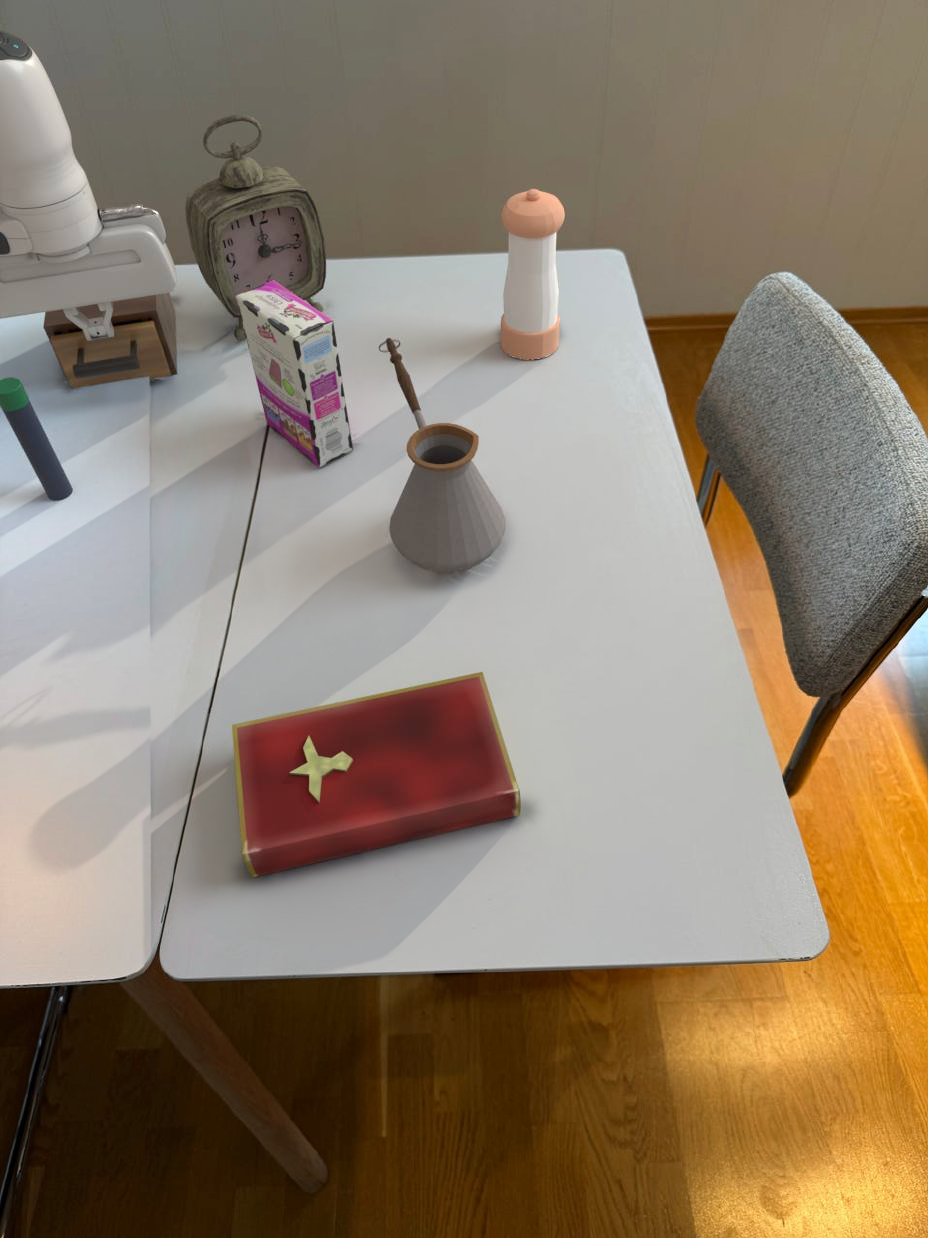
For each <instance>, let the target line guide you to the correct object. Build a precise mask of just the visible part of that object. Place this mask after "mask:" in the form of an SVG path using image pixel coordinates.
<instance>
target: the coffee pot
mask: <svg viewBox="0 0 928 1238" xmlns="http://www.w3.org/2000/svg"><path fill="white" fill-rule="evenodd" d="M395 342H398V344H397V345H396V344H395ZM385 344H386V348H387V349H386V350H384V349H381V347H382V346H384V345H385ZM401 345H402V344H401V341H400V340H399V339H395V338H393V339H392V337H387V338H386V339H385V341H383V342H381V343H380V344H379V345H378V347H377V348H378V351H379V352H380V353H389V354H390V357H389V361H390V363H391V364H393V365H394V371H395V374H396V380H397V382H398V385H399V387H400V390H401V391H402V394H403V395H404V398H405V400H406V402H407V404H408V407H409V409H410V411H411V413H412V415H413V416H414V420H415V422H416V425H417V428H418V430H416V431H415V432H414V433H412V434H411V436H410V437H409V439H408V440H407V443H406V453H407V456H408V458H409V459H410V460H411V462H412V463H413V467H412V469H411V471H410V474H409V476H408V478H407V480H406V482H405V485H404V486H403V489H402V492H401V493H400V496H399V498H398V501H397V503H396V505H395V507H394V510H393V512H392V514H391V516H390V521H389V528H388V532H389V535H390V538H391V542H392V544H393V546H394V547H395V548H396V550H397V551H398V553H399V554H400V555H401V556H402V558H404V559H405V560H407V561H408V562H410V563H411V564H412V565H414V566H416V567H418V568H421V569H423V570H427V571H431V572H437V573H451V574H452V573H458V572H463V571H466V570H469V569H471V568H473V567H475V566H477V565H481V564H482V563H483V562H484V561H487V559H489V558H490V557H491V556H492V555H493V553H494V552H495V551H496V550H497V549H498V547H499V546H500V544H501V543H502V540H503V537H504V536H505V532H506V517H505V514H504V511H503V509H502V506H501V505H500V504H499V502H498V500H497V498H496V497H495V495H494V494H493V492H492V491H491V488H490V487H489V486H488V483H486V481H485V479H484V478H483V476H482V474H481V472H480V471H479V468H478V467H477V465H475V462H473V459H474V458H475V455H476V454H477V451H478V448H479V444H480V442H479V441H480V439H479V438H480V436H479V434H477V433H475V432H474V431H473V430H470V429H468V428H467V427H464V426H462V425H459V424H457V423H451V422H438V423H432V424H427V423H426V420H425V418H424V416H423V413H422V409H421V407H420V402H419V399H418V397H417V394H416V391H415V387H414V385H413V381H412V378H411V376H410V373H409V372H408V371H407V369H406V367H405V365H404V363H403V361H402V360H403V355H402V354H400V353H399V352H398V351H397V349H399V348H400V347H401Z"/></svg>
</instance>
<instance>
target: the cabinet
mask: <svg viewBox="0 0 928 1238" xmlns="http://www.w3.org/2000/svg"><path fill="white" fill-rule="evenodd" d="M79 311H80V312H82V313H83V314H84V315H85V316H86V317H87V318H88V319H93V318H99V317H103V314H104V311H100V309H99V307H98V304H93V305H87V306H81V307H79ZM147 318H151V320H152V321H154V323H155V326H156V329H157V332H158V335H159V338H160V341H161V344H162V347H163V350H164V353H165V356H166V359H167V362H168V365H169V368H170V376H172V375H173V376H174V375H178V357H177V356H178V353H177V328H176V325H177V324H176V309H175V307H174V303H173V300H172V297H171V292H170V293H165V294H159V295H152V296H145V297H139V298H133V299H126V300H120V301H114V302H113V313H112V317H111V323H112V324H113V323H120V322H127V321H133V320H140V319H147ZM42 327H43V330H44V332H45V334H46V336H47V339H48V341H49V343H50V346H51V348H52V350H53V353H54V354H55V356H56V359H57V361H58V363H59V366H60V368H61V370H62V372H63V375H64V377H65V380H66V382H69V381H68V379H67V377H66V374H65V372H64V370H63V368H62V365H61V363H60V361H59V359H58V356H57V354H56V352H55V350H54V347H53V345H52V343H51V337H52V336H55V335H62V333H61V331H67V330H74V329H80V327H78V326H77V325H76V324H74V323H73V322H72V321H71V320H69V319H68V318H67V317H66V315H65V313H64V311H63V309H61V310H55V311H48V312H44V320H43V326H42Z"/></svg>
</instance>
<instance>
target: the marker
mask: <svg viewBox="0 0 928 1238" xmlns="http://www.w3.org/2000/svg"><path fill="white" fill-rule="evenodd" d="M0 409H1V410H2V412H3V414H4V416H5V418H6V420H7V422H8V423H9V425H10V427H11V429H12V431H13V433H14V435H15V437H16V438H17V440H18V443H19V444H20V446H21V448H22V450H23V452H24V454H25V456H26V458H27V460H28V461H29V463H30V465H31V467H32V469H33V471H34V473H35V475H36V477H37V478H38V481H39V482H40V485H41V486H42V488H43V490H44V492H45V494H46V496H47V497H48V499H49V500H50V501H53V502H54V501H55V502H58V501H64V500H66V499H67V498H69V497H70V496H71V495H72V494H73V491H74V489H73V486H72V484H71V482H70V480H69V478H68V475H66V472H65V470H64V468H63V466H62V463H61V461H60V460H59V458H58V456H57V453H56V452H55V450H54V447H53V445H52V443H51V441H50V439H49V437H48V436H47V433H46V431H45V429H44V427H43V425H42V422H41V421H40V419H39V417H38V415H37V413H36V411H35V409H34V407H33V405H32V403H31V401H30V398H29V395H28V393H27V392H26V390H25V388H24V385H23V384H22V381H21V380H20V379H19V378H17V377H12V376H11V377H4V378H1V379H0Z"/></svg>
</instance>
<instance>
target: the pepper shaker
mask: <svg viewBox="0 0 928 1238" xmlns="http://www.w3.org/2000/svg"><path fill="white" fill-rule="evenodd" d="M565 216H566V215H565V209H564V206H563V204H562V203H561V201H560V200H559V198H558V197H557V196H555V195H554V194H552V193H549V192H546V191H540V190H539V189H538V188H537V189H536V188H530V189H528V190H527V191H522V192H519V193H515V194H514V195H512V196H511V197H509V199H508V200H507V201H506V202H505V204H504V206H503V208H502V212H501V222H502V224H503V226H504V227H505V229H506V231H507V232H508V251H507V253H508V255H507V257H508V259H507V261H508V263H507V269H506V275H505V280H504V286H503V294H502V300H503V314H502V315H501V318H500V346H501V349H502V351H503V352H504V353H505V354H506V353H507V354H506V355H507V356H509V355H511V356H514V357H515V358H514V359H516V358H521V359H524V360H523V361H526V360H525V359H531V360H530V361H535V360H534V359H537V358H542V357H545V356H547V355H549V354H552V353H553V352H554V351H556V352H557V350H558V348H559V346H560V345H559V343H560V325H561V324H560V321H561V317H560V316H559V314H558V307H559V297H560V296H559V293H560V292H559V291H560V290H559V282H558V281H559V280H558V272H557V263H556V255H557V254H556V253H557V232H558V231H559V230H560V229H561V227H562V226H563V224H564V221H565ZM557 347H558V348H557ZM556 349H557V350H556ZM554 353H555V352H554ZM554 353H553V354H554ZM553 354H552V355H553ZM511 356H510V357H511ZM521 359H520V360H521Z"/></svg>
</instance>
